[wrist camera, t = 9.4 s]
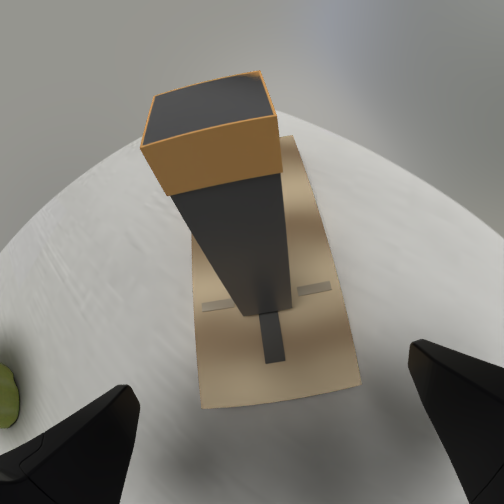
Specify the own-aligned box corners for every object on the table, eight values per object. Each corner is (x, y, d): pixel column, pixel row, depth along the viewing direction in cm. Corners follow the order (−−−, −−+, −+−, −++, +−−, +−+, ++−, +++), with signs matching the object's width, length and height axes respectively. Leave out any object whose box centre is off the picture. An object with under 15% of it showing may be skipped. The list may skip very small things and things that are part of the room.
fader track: (354, 386, 14) (362, 384, 12) (212, 408, 15) (200, 409, 13) (293, 153, 23) (292, 134, 21) (199, 171, 24) (192, 154, 22)
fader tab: (293, 309, 14) (276, 115, 5) (242, 317, 14) (139, 148, 5) (286, 271, 15) (260, 70, 6) (237, 280, 16) (153, 96, 6)
